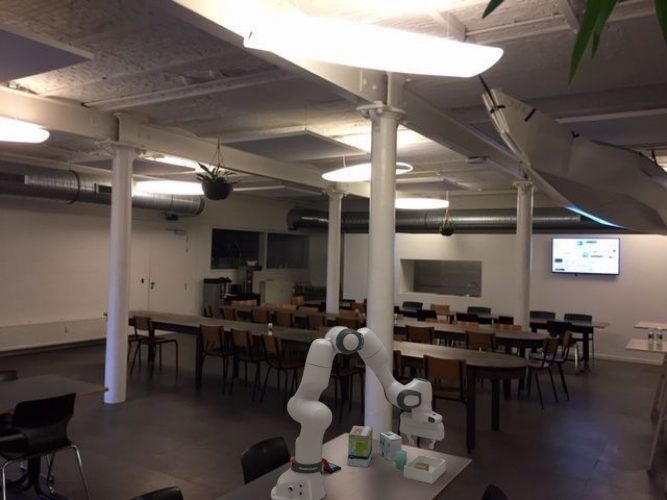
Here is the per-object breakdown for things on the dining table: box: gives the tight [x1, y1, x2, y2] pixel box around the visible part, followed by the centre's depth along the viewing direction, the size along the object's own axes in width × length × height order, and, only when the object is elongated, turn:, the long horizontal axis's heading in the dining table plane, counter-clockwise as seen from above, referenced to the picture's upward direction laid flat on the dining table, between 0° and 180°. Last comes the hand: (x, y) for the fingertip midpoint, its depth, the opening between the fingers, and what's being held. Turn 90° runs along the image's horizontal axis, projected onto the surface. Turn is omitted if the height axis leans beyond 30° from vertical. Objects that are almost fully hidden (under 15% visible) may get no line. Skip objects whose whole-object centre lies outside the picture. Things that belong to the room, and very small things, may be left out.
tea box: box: [347, 425, 374, 468], centre depth 251 cm, size 15×10×15 cm, turn 168°
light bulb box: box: [379, 431, 403, 462], centre depth 256 cm, size 11×7×11 cm, turn 25°
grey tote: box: [403, 454, 447, 485], centre depth 235 cm, size 17×13×5 cm
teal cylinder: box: [395, 449, 408, 470], centre depth 243 cm, size 5×5×7 cm
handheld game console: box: [322, 457, 342, 474], centre depth 241 cm, size 12×11×7 cm
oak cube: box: [414, 462, 429, 471], centre depth 232 cm, size 5×5×5 cm
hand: (421, 446), depth 232 cm, fingers open, 8 cm apart
